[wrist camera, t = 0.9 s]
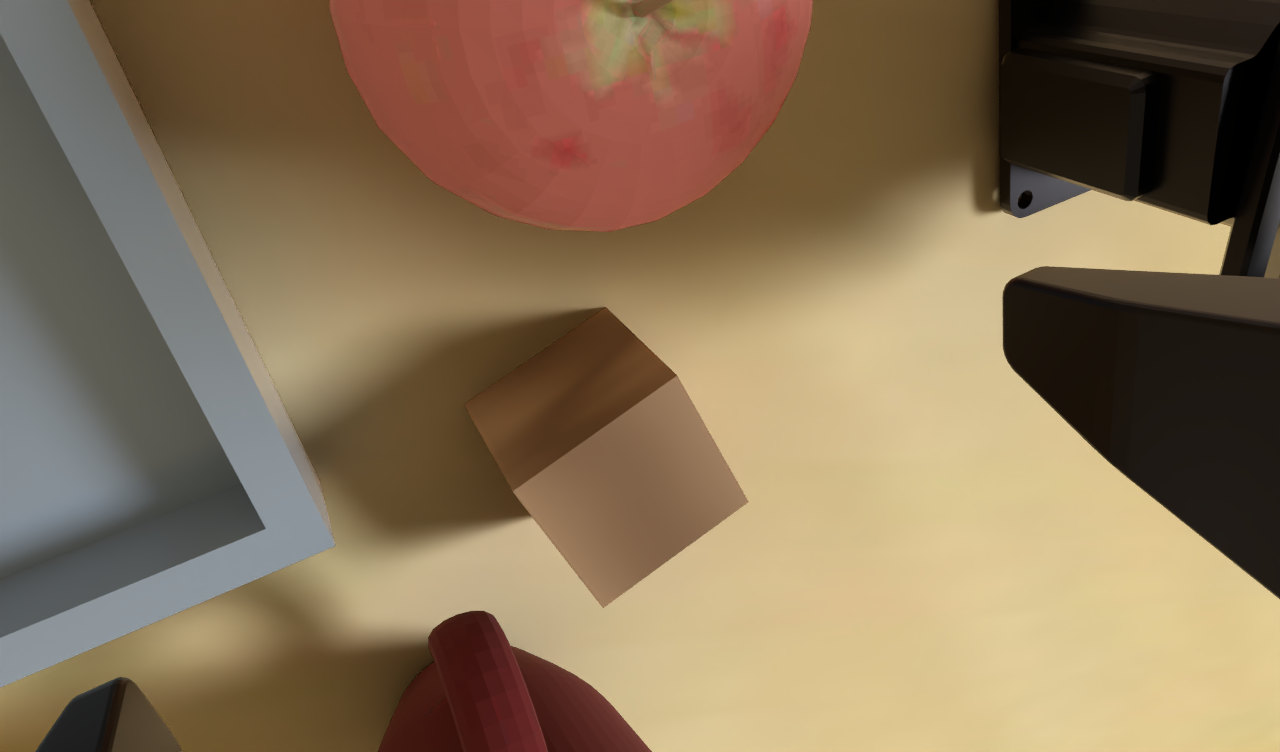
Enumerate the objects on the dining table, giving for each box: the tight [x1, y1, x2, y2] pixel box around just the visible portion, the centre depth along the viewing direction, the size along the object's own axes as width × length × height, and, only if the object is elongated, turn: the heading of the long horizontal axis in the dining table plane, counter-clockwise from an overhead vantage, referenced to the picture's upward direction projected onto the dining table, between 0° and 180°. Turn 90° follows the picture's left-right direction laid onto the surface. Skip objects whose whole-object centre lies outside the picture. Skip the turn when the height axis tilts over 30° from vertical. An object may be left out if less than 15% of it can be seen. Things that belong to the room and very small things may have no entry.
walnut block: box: [464, 307, 748, 608], centre depth 22 cm, size 4×4×4 cm
